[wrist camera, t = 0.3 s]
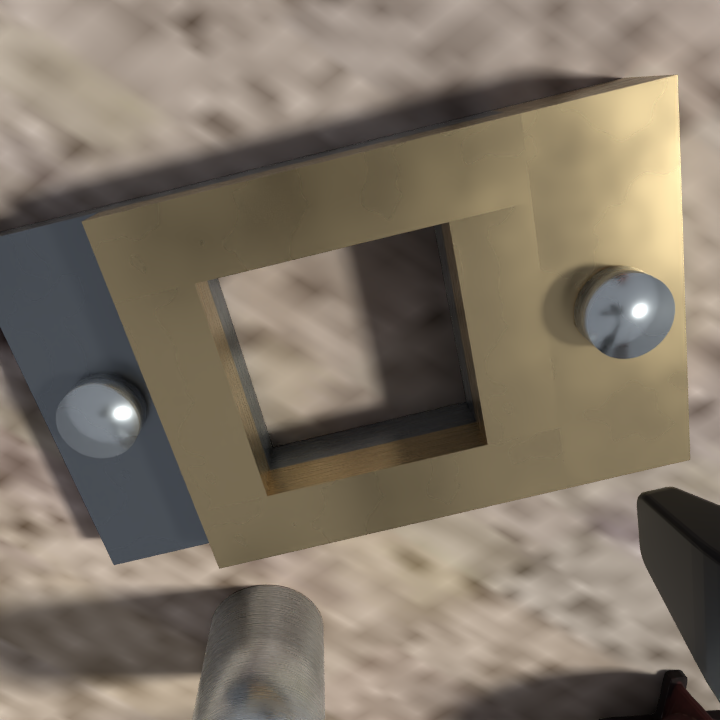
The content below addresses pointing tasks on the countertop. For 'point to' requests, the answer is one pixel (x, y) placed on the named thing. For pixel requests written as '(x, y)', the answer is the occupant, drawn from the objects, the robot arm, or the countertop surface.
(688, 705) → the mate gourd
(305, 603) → the pin
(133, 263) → the upper end link
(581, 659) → the countertop surface
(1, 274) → the lower end link
